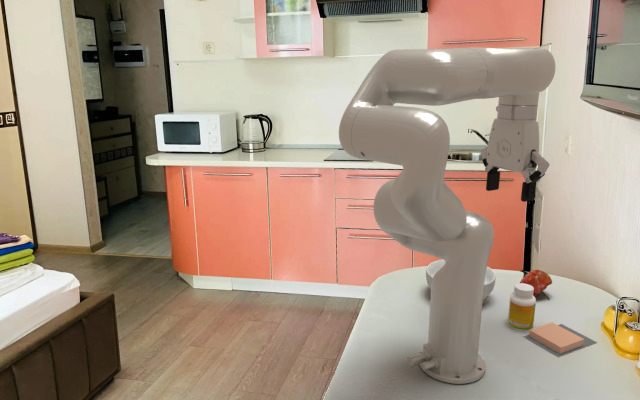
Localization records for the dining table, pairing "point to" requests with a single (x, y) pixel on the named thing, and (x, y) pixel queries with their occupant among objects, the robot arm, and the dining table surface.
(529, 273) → the pomegranate
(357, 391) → the dining table surface
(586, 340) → the rubber mat
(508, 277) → the dining table surface
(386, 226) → the robot arm
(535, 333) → the tile
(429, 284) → the cereal bowl
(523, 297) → the supplement bottle
